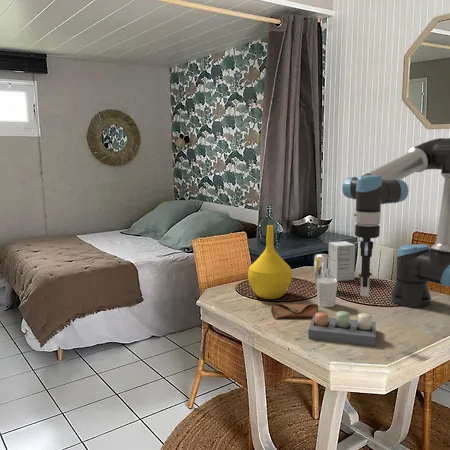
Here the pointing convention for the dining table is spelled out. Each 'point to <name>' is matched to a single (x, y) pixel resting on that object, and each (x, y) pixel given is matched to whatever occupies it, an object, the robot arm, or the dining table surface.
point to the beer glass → (321, 266)
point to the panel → (343, 332)
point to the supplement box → (342, 260)
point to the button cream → (364, 321)
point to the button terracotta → (321, 319)
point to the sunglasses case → (294, 311)
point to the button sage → (343, 319)
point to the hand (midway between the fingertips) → (364, 295)
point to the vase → (269, 272)
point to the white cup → (326, 291)
